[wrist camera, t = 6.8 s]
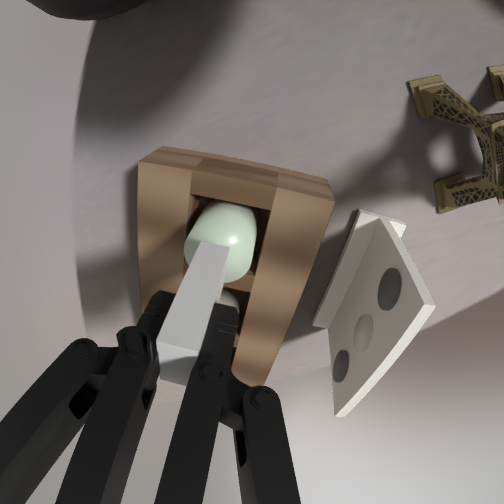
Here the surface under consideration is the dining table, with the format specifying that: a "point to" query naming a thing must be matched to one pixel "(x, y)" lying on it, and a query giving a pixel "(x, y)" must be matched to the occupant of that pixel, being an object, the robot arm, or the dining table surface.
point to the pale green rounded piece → (226, 234)
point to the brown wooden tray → (265, 250)
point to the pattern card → (370, 307)
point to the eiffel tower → (486, 129)
